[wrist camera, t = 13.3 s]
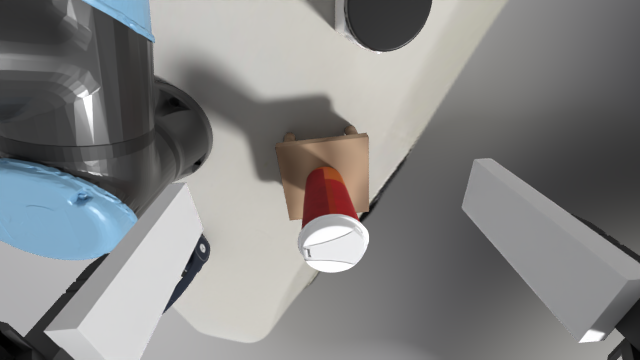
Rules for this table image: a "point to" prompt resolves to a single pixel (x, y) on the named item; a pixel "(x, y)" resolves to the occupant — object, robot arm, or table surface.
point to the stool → (325, 152)
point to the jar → (381, 22)
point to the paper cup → (330, 224)
